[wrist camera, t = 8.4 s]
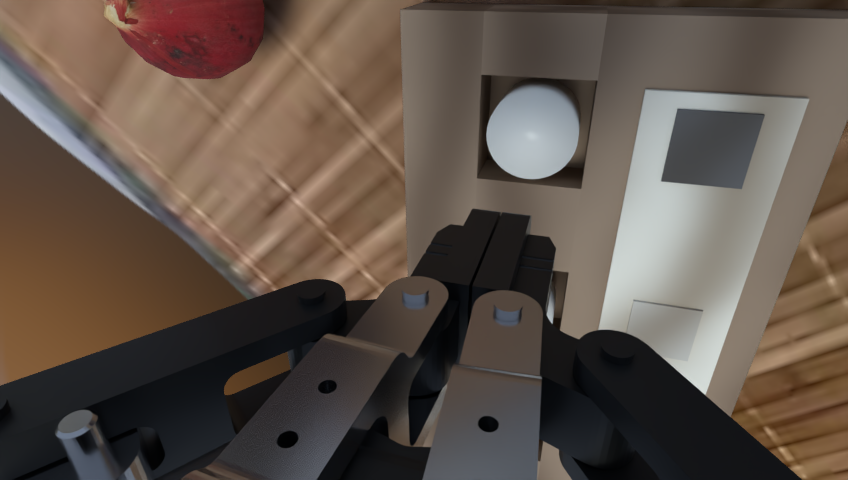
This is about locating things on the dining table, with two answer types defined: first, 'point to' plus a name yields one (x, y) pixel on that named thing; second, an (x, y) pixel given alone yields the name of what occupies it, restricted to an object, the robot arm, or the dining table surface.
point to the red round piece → (190, 33)
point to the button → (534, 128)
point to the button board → (637, 161)
